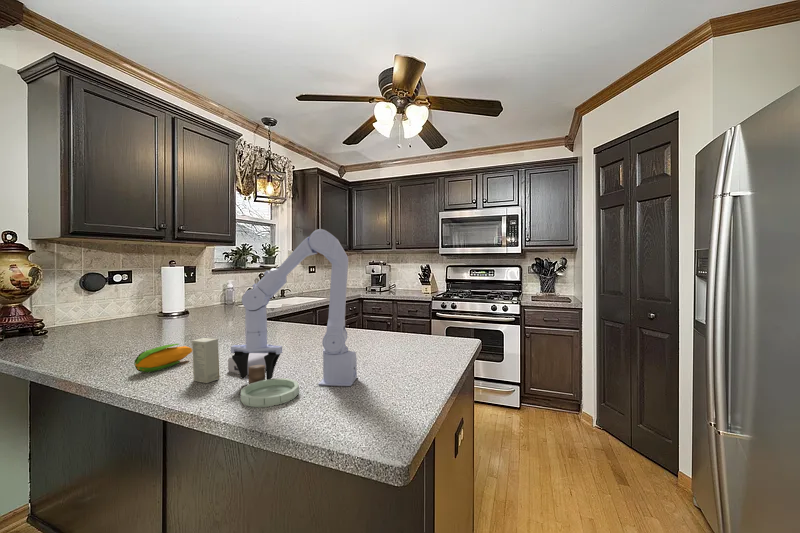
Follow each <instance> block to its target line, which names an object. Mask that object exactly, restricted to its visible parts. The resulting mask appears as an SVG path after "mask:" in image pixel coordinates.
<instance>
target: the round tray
mask: <svg viewBox="0 0 800 533" xmlns="http://www.w3.org/2000/svg"><path fill="white" fill-rule="evenodd" d="M299 392H300V385H299V382H298V381H297V380H295V379H291V378H286V377H285V378H282V377H280V378H279V377H275V378H271V379H267V378H266V379H265V380H261V381H257V382H254V383H251V384H249V383H248V384H247V385H245V386H244V387H242V388H241V389H240V402H241V404H243V405H244V406H246V407H251V408H268V407H269V406H270V407H275V406H274V405H276V406H279V404H280V405H283V404H282V403H284V404H287V403H288V401H289V402H291V401H293V400H294V399H296V398H297V397H298V396H299ZM297 395H298V396H297ZM296 396H297V397H296ZM295 397H296V398H295ZM292 399H293V400H292ZM290 400H291V401H290ZM270 407H269V408H270Z"/></svg>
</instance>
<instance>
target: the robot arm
mask: <svg viewBox="0 0 800 533" xmlns="http://www.w3.org/2000/svg"><path fill="white" fill-rule="evenodd" d="M318 253H319V254H320V255H323V256H324V258H325V259H326V260H328V261H329V263H330V264H331V270H330V271H331V273H330V286H329V287H330V288H329V306H328V319H327V322H326V323H327V324H326V332H325V334H324V335H323V337H322V342H321V343H322V344H321V345H322V347H323V349H322V359H323V360H322V370H323V371H322V373H323V374H322V377H323V378H322V379H321V381H319V382H318V386H334V387H335V386H336V387H338V386H339V387H351V386H353V384H354V382H355V381H356V380H357V379H358V375H357V374H358V373H357V370H358V369H357V368H358V365H357V364H358V362H357V352H356V351H354V350H352V351H351V350H349V347H348V346H347V345H346V342H347V339H348V331H347V329H346V305H347V304H346V303H347V302H346V301H347V291H348V290H347V288H348V287H347V284H348V274H349V273H348V272H349V257H348V255H347V253H346V251H345V249H344V248H343V246H342V244H341V243H340V241H339V239H338V238H337V237H336V236H334V235H333V234H332V233H331V232H329V231H327V230H326V229H322V228H319V229H318V228H317V229H315V230H314V231H313V232H312V233H310V235H309V236H307V237H306V238H304V239H303V240H302V241H301V242H300V243H299V245H298V246H297V247H295V249H293V251H292V252H291V253H290V254H289V255H288V257H286V259H285V260H284V261H283V262H282V263H281V264H280V265H279V266H278V268H270V270H267V269H266V270H265V271H264V272H263V275H264V276H262V277H261V279H260V280H258V282H256V283H253V284H252V289H248V290H246V291H245V292H244V294H243V296H242V298H241V303H242V306H243V307H244V310H245V311H244V313H245V316H244V319H245V320H244V322H245V323H244V324H245V325H244V326H245V333H244V334H245V344H233V345H231V346H230V354H233V355H232V356H231V358H232V359H233V360H234V362H235V363H236V365H237V367H238V370H239V372H240V374H239V376H240V379H241V380H244V379H245V378H247V377H248V375H247V374H248V357H249V353H268V355H266V356H264V359H265V363H266V369H265V379H266V380H267V379H273V376H274V371H275V367H276V365H277V362H278V360H279V358H280V356H281V354H282V353H283V346H282V345H273V344H268V320H267V319H268V318H267V317H268V314H267V305H268V304H269V303H270V299H272V298H273V297H274V296H275V295H276V294H277V293H278V292H279V291H280V290H281V289H282V288H283V286H285V285H286V284H287V276H288V275H289V274H290V273H291V272H292V271H293V270H294V269H295V268H296V267H298V266H299V265H300V263H302V262H303V261H304V260H305V259H306V258H308V257H310V256H314V255H318Z"/></svg>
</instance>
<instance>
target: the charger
mask: <svg viewBox="0 0 800 533" xmlns="http://www.w3.org/2000/svg"><path fill="white" fill-rule="evenodd" d="M266 355H268V353H249V357H248V368H249V367H250V366H253V365H265V370H266V363H265V359H264V356H266ZM227 369H228V372H229V373H233V372H234V374H238V373H239V375H240V372H239V370H238V367H237V365H236V363H235V362H234V360H233V359H232V357H230V358H228V359H227ZM247 376H249V370H248V374H247Z"/></svg>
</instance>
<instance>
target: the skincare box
mask: <svg viewBox="0 0 800 533" xmlns="http://www.w3.org/2000/svg"><path fill="white" fill-rule="evenodd" d="M191 348H192V352H191V353H192V372H193V373H192V374H193V381H195V382H198V383H203V384H204V383H205V384H210V383H211V382H215V381H217V380H219V379H220V360H219V359H220V358H219V357H220V356H219V339H218V338H214V337H213V338H212V337H202V338H198V339H192V340H191Z"/></svg>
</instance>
